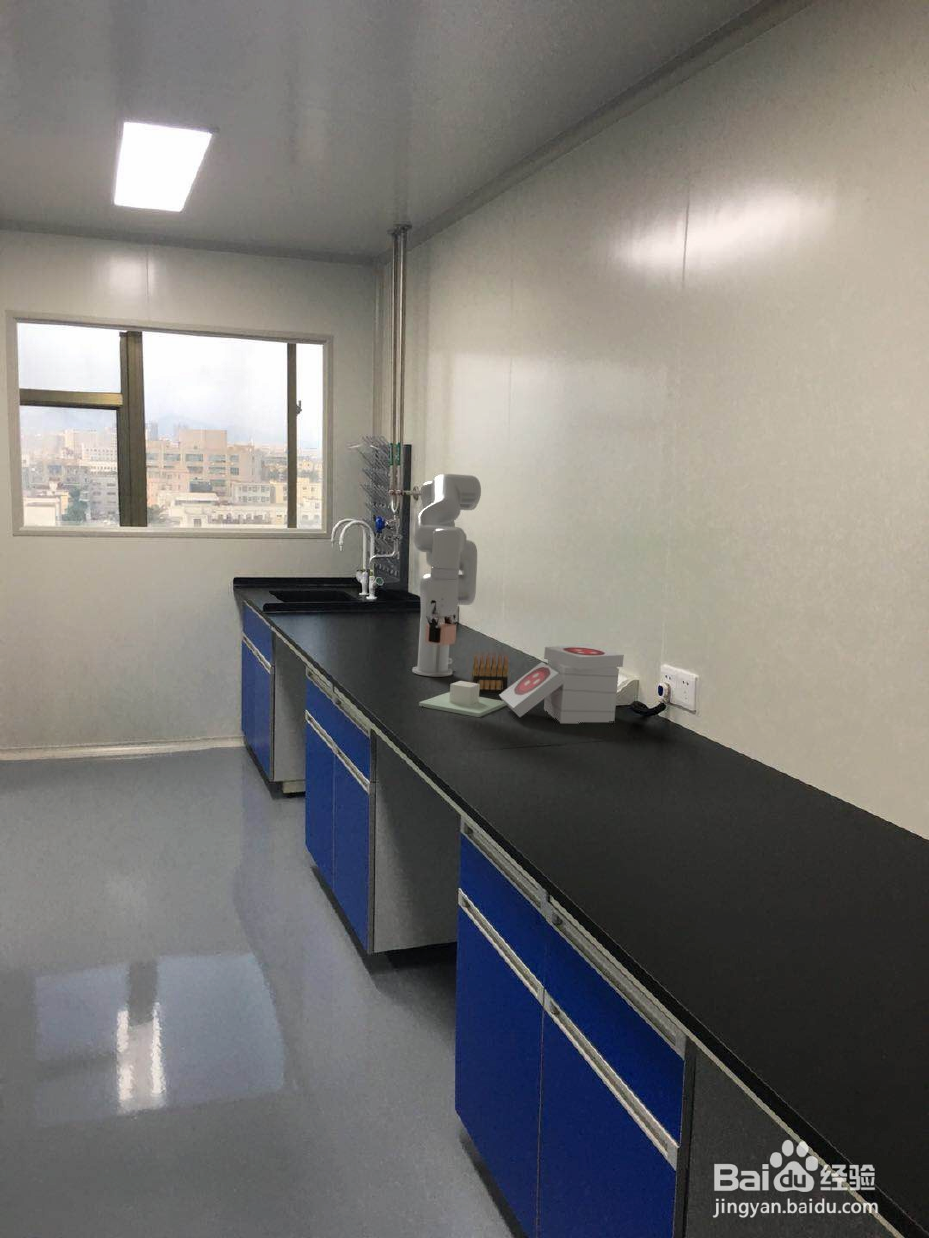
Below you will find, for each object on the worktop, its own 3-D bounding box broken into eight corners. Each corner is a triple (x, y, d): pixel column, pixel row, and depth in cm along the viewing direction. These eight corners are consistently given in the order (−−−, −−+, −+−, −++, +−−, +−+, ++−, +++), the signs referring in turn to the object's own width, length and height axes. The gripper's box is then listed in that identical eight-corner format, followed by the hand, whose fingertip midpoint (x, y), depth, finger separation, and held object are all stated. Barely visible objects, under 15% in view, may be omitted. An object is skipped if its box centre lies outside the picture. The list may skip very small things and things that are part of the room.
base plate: (450, 695, 281) (450, 691, 281) (507, 705, 273) (507, 701, 273) (418, 705, 265) (419, 702, 265) (478, 717, 257) (479, 713, 257)
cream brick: (458, 698, 273) (460, 680, 272) (478, 701, 270) (479, 683, 269) (449, 702, 267) (450, 684, 267) (469, 705, 265) (470, 687, 264)
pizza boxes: (496, 707, 270) (500, 642, 267) (599, 708, 276) (605, 645, 274) (514, 725, 251) (519, 655, 249) (625, 726, 258) (631, 658, 255)
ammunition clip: (505, 692, 289) (508, 652, 288) (507, 693, 288) (510, 653, 286) (470, 691, 287) (473, 651, 286) (471, 693, 285) (474, 652, 284)
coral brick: (436, 640, 271) (437, 622, 270) (455, 643, 268) (456, 624, 267) (424, 642, 266) (426, 624, 265) (444, 645, 263) (445, 627, 262)
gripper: (448, 571, 273) (444, 635, 276) (415, 574, 258) (411, 642, 261) (472, 574, 270) (467, 639, 272) (440, 577, 255) (436, 646, 257)
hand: (440, 640), depth 267 cm, fingers closed on coral brick, 5 cm apart
